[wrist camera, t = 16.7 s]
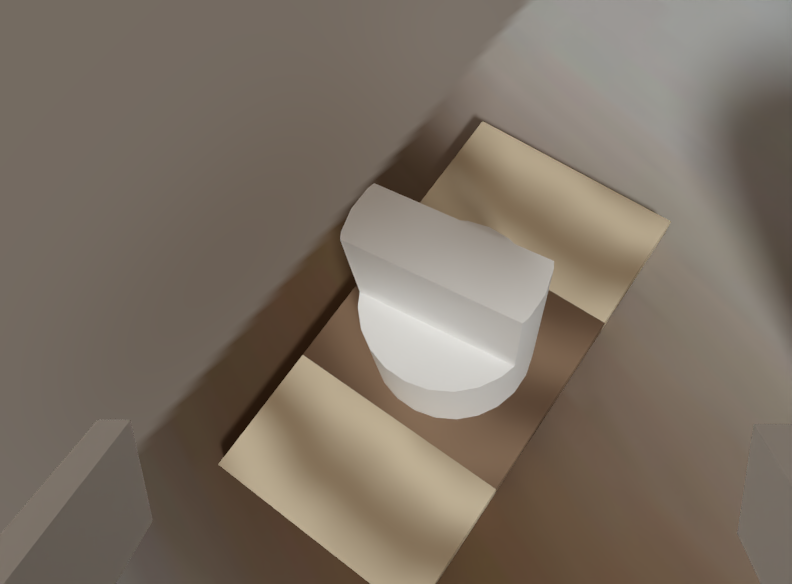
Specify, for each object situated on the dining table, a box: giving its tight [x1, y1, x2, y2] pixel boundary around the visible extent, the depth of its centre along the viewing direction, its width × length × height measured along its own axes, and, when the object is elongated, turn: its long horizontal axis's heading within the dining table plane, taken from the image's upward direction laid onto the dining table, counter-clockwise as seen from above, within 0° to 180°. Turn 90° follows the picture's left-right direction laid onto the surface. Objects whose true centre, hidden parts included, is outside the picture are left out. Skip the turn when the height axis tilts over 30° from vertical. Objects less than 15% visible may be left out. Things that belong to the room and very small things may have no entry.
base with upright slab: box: [340, 183, 554, 419], centre depth 37 cm, size 9×9×12 cm
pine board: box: [218, 121, 671, 584], centre depth 43 cm, size 26×13×2 cm, turn 144°
